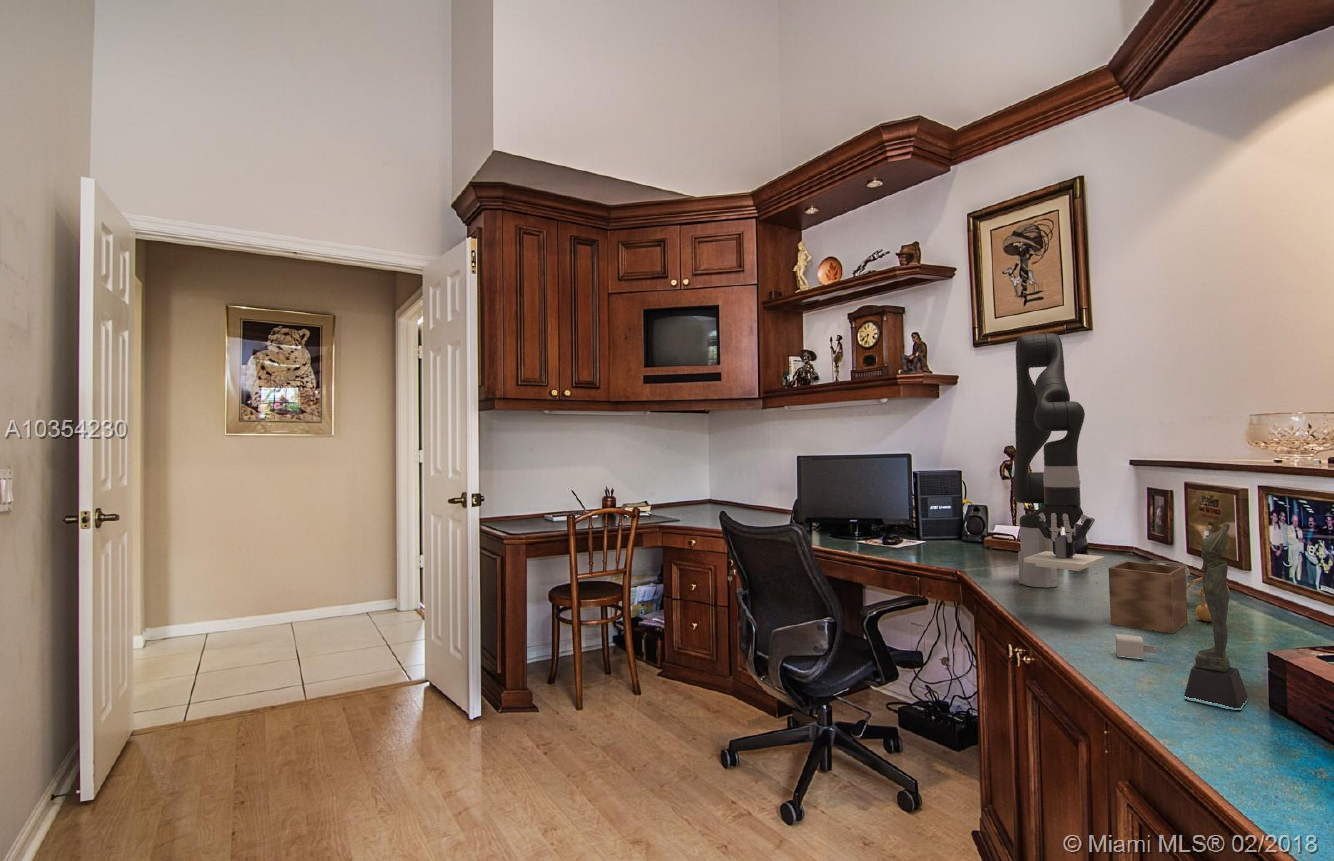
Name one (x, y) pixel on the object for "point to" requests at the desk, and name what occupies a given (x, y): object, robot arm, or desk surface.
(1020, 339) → the robot arm
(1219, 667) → the statue
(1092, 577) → the desk surface
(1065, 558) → the lid
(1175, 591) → the box
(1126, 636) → the usb wall charger
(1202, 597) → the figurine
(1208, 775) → the desk surface
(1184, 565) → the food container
